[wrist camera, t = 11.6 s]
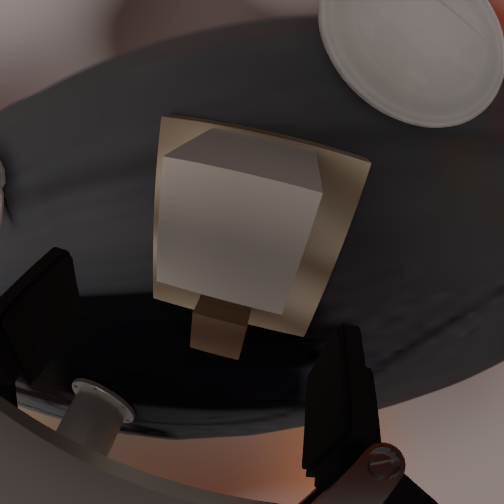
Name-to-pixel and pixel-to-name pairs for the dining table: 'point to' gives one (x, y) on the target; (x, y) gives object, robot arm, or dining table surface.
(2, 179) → the cup
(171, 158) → the matte grey cube
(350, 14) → the ramekin
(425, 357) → the dining table surface
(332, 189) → the post board
